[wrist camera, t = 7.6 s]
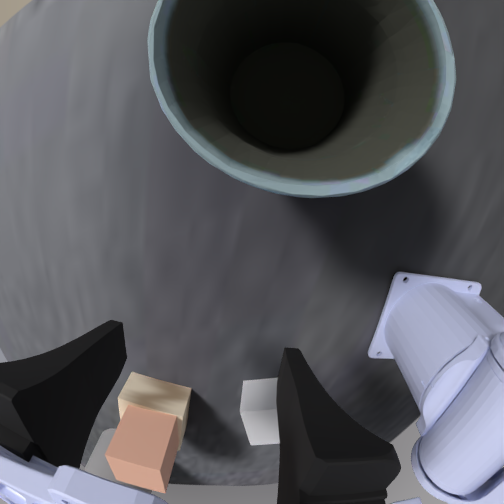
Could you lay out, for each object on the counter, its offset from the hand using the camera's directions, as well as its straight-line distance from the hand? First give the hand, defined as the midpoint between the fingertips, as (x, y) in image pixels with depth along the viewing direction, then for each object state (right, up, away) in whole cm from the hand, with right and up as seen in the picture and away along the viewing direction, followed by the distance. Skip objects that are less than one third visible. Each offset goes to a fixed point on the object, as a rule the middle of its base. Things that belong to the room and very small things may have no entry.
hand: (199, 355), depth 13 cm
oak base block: (-7, -10, +15) cm, 20 cm away
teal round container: (+5, +15, +6) cm, 17 cm away
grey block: (+4, -9, +14) cm, 17 cm away
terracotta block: (-7, -11, +11) cm, 17 cm away
